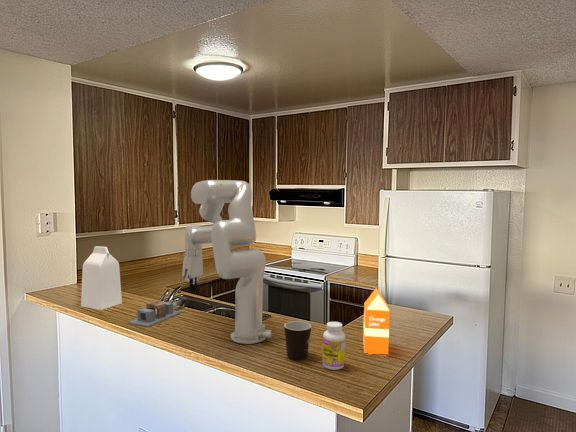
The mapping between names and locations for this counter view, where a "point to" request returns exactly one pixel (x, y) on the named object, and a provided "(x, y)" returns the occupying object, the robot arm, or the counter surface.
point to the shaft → (181, 302)
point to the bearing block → (153, 316)
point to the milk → (100, 280)
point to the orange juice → (376, 324)
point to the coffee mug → (297, 339)
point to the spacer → (159, 306)
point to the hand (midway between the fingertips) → (193, 292)
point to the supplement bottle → (333, 346)
